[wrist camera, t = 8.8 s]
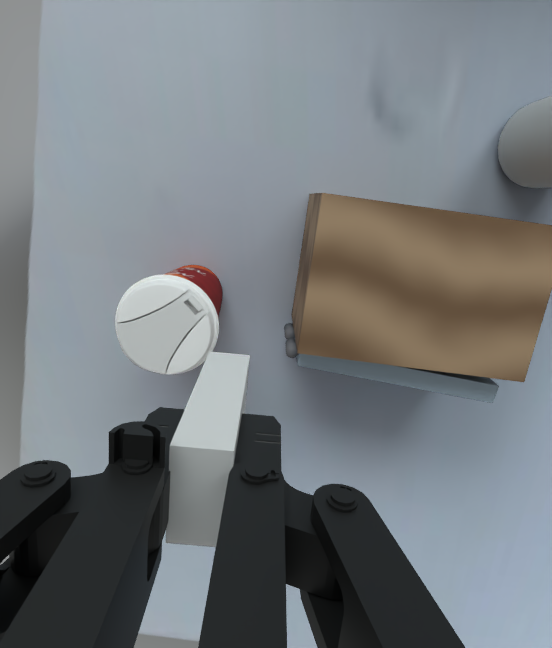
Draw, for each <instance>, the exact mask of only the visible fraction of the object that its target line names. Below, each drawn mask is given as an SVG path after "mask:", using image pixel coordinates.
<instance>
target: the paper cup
mask: <svg viewBox="0 0 552 648" xmlns="http://www.w3.org/2000/svg"><path fill="white" fill-rule="evenodd" d="M221 303H222V287H221V284H220V281H219V279H218V278H217V276H216V275H215V274H214V273H213V272H212V271H210V270H209V269H207V268H205V267H203V266H199V265H188V266H184V267H181V268H178V269H176V270H173V271H171V272H168V273H166V274H164V275H155V276H150V277H147V278H144V279H142V280H140V281H138V282H137V283H135V284H134V285H132V286H131V287H130V288H129V289H128V290H127V291H126V292H125V294H124V295H123V297H122V298H121V300H120V302H119V304H118V307H117V310H116V315H115V328H116V333H117V337H118V340H119V343H120V346H121V349H122V351H123V353H124V354H125V355H126V357H127V358H128V359H129V360H130V361H131V362H132V363H134V364H135V365H137V366H138V367H140V368H141V369H145V370H149V371H152V372H155V373H159V374H166V375H174V374H181V373H185V372H188V371H190V370H192V369H195V368H196V367H198V366H199V365H201V364H202V363H203V362H204V361H205V360H206V358H207V356H208V353H209V351H210V352H212V351H213V349H214V347H215V345H216V342H217V339H218V334H219V321H218V317H219V312H220V308H221Z"/></svg>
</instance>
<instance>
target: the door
mask: <svg viewBox="0 0 552 648" xmlns="http://www.w3.org/2000/svg"><path fill="white" fill-rule="evenodd" d="M284 330H285V337H286V339H287V341H286V354H287V356H288V357H290V358H295V357H297V364H298V366H301V367H306V368H312V369H317V370H322V371H327V372H332V373H338V374H343V375H348V376H353V377H358V378H364V379H369V380H374V381H379V382H384V383H390V384H395V385H400V386H405V387H410V388H416V389H421V390H426V391H431V392H436V393H442V394H447V395H452V396H457V397H462V398H467V399H473V400H478V401H483V402H488V403H493V401H494V398H495V396H496V393H497V390H498V387H499V386H498V385H497V384H496V383H495V382H493V381H492V380H491V379H490V378H487V377H480V376H472V375H464V374H456V373H448V372H440V371H432V370H425V369H417V368H409V367H401V366H393V365H385V364H377V363H370V362H362V361H354V360H346V359H338V358H330V357H322V356H314V355H307V354H299V353H297V347H296V341H295V334H294V327H293V324H291V323H288V324H286V325H285V327H284Z"/></svg>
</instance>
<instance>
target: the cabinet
mask: <svg viewBox="0 0 552 648" xmlns="http://www.w3.org/2000/svg"><path fill="white" fill-rule="evenodd" d="M551 289H552V225H546V224H539V223H532V222H524V221H517V220H510V219H503V218H496V217H489V216H482V215H475V214H468V213H461V212H454V211H447V210H440V209H433V208H425V207H418V206H411V205H404V204H397V203H390V202H383V201H376V200H369V199H362V198H355V197H348V196H341V195H334V194H326V193H314V194H310V195H309V202H308V209H307V215H306V222H305V229H304V235H303V242H302V249H301V256H300V262H299V269H298V276H297V282H296V289H295V296H294V303H293V309H292V321H293V327H294V334H295V341H296V347H297V353H299V354H307V355H314V356H322V357H330V358H338V359H346V360H354V361H362V362H370V363H377V364H385V365H393V366H401V367H409V368H417V369H425V370H432V371H440V372H448V373H456V374H464V375H472V376H480V377H487V378H495V379H503V380H511V381H519V382H524V381H525V378H526V374H527V371H528V367H529V364H530V361H531V357H532V354H533V350H534V347H535V344H536V340H537V337H538V333H539V330H540V327H541V323H542V320H543V317H544V313H545V310H546V306H547V303H548V300H549V296H550V293H551Z"/></svg>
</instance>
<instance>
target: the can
mask: <svg viewBox="0 0 552 648" xmlns="http://www.w3.org/2000/svg"><path fill="white" fill-rule="evenodd" d="M498 157H499V162H500V164H501V167H502V170H503V172H504V173H505V174H506V175H507V176H508V178H509V179H510V180H511V181H513V182H515V183H516V184H518V185H520V186H522V187H529V188H552V96H549V97H546V98H544V99H541V100H538V101H535V102H533V103H530V104H528V105H527V106H525V107H523V108H521V109H519V110H518V111H517V112H516V113H515V114H514V115H513V116H512V117H511V118H510V119H509V120H508V122H507V123H506V125H505V127H504V129H503V130H502V132H501V136H500V140H499V144H498Z"/></svg>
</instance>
